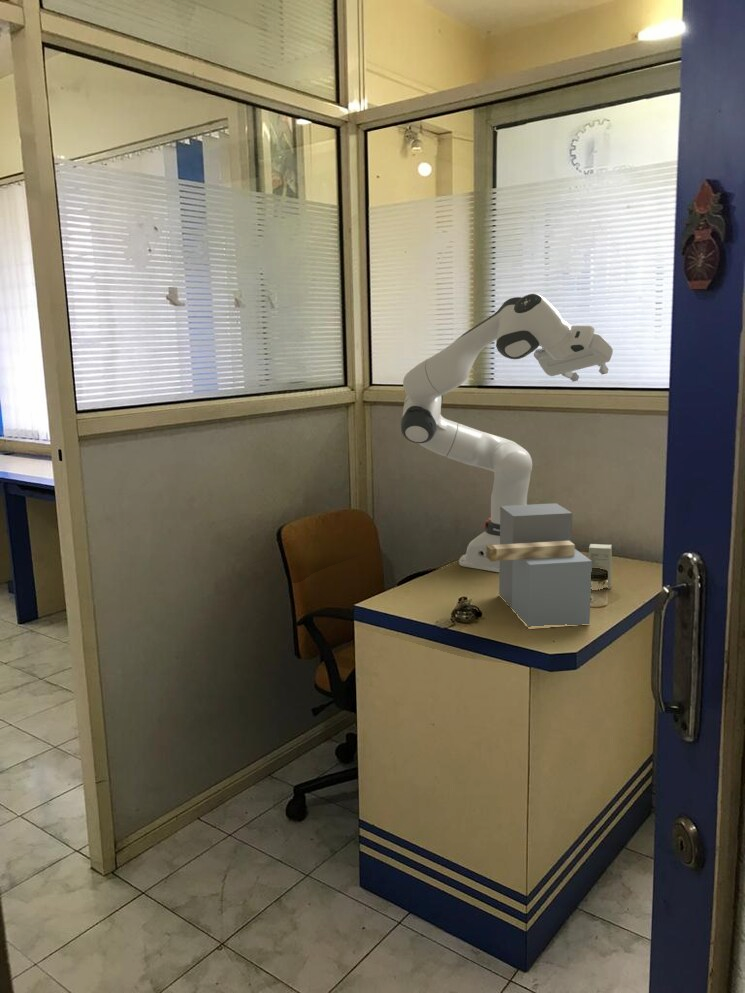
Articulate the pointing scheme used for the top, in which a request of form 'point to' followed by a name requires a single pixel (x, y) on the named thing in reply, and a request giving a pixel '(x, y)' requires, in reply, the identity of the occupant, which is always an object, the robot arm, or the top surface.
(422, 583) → the top surface
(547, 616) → the stepped stand
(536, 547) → the birch bar
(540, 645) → the top surface
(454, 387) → the robot arm
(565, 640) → the top surface
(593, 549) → the skincare box
